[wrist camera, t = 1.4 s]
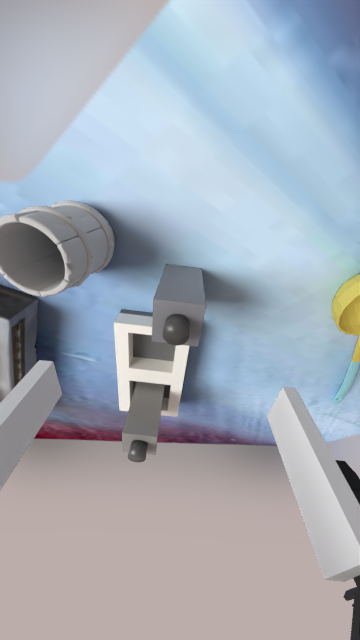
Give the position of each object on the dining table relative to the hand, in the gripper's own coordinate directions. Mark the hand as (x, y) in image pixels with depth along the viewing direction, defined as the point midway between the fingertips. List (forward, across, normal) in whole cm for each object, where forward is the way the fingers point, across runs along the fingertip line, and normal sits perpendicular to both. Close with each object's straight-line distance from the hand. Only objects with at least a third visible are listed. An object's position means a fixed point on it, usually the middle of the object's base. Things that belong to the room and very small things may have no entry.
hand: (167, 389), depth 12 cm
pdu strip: (+17, -3, -14) cm, 22 cm away
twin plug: (+16, -3, -18) cm, 25 cm away
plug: (+17, 0, 0) cm, 17 cm away
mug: (+17, -14, +4) cm, 23 cm away
